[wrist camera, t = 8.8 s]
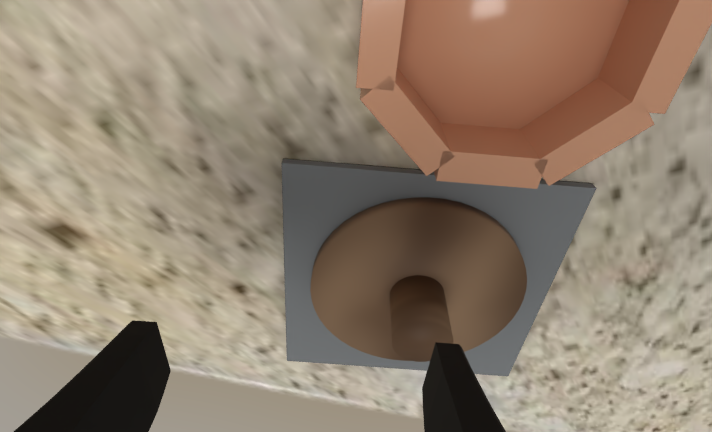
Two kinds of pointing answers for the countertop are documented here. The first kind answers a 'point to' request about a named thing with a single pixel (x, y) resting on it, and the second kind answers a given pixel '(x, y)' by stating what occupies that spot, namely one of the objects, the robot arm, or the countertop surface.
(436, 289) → the lid
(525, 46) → the bowl
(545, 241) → the mat
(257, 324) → the countertop surface
